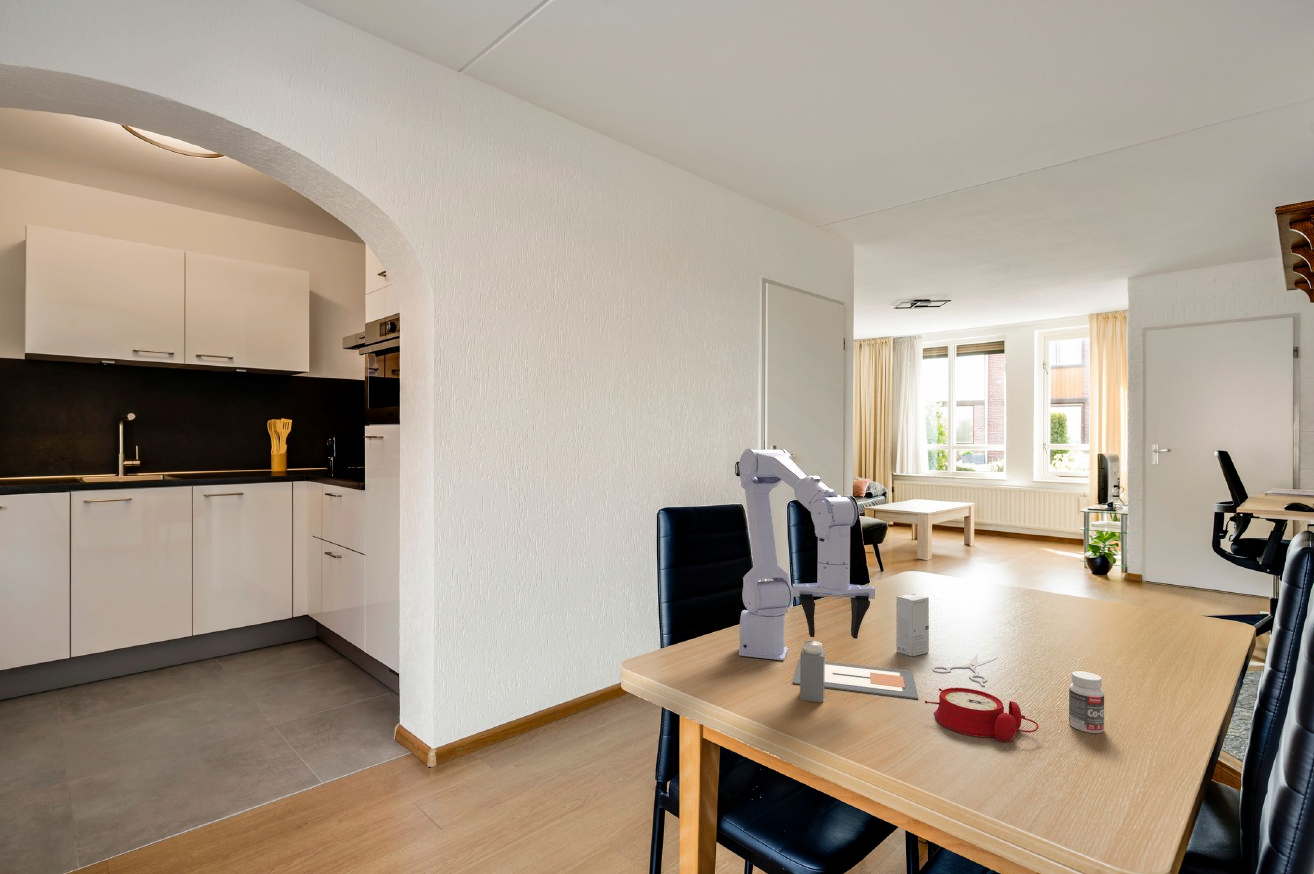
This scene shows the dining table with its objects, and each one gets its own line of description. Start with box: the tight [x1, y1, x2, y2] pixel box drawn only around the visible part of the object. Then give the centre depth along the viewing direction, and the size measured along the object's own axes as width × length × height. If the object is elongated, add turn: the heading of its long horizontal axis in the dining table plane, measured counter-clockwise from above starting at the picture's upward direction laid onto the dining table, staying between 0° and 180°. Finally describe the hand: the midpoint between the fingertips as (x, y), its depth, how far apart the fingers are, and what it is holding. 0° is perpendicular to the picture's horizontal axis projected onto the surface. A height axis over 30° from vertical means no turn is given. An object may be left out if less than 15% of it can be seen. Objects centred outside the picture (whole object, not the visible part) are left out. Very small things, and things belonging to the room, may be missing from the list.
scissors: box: [931, 653, 998, 688], centre depth 131 cm, size 11×1×20 cm
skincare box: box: [895, 593, 930, 657], centre depth 140 cm, size 6×4×12 cm
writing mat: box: [792, 658, 919, 700], centre depth 124 cm, size 22×14×1 cm, turn 72°
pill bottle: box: [1068, 670, 1105, 734], centre depth 104 cm, size 5×5×8 cm
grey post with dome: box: [799, 640, 826, 703], centre depth 115 cm, size 4×4×10 cm
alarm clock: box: [924, 687, 1039, 743], centre depth 104 cm, size 11×6×15 cm
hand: (832, 636), depth 118 cm, fingers open, 7 cm apart
